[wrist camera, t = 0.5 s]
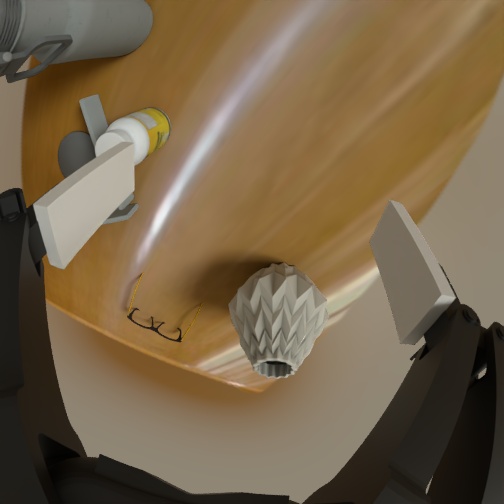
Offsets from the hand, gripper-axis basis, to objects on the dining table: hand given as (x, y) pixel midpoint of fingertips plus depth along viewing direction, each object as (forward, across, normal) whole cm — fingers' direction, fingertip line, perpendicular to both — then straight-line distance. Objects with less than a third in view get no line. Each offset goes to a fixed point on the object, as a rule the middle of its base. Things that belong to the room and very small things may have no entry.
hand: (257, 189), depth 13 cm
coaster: (+25, -31, -12) cm, 42 cm away
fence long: (+25, -24, -9) cm, 36 cm away
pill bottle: (+26, -17, -5) cm, 31 cm away
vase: (+26, +8, -28) cm, 39 cm away
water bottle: (+25, -23, +11) cm, 36 cm away
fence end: (+25, -26, -22) cm, 42 cm away
